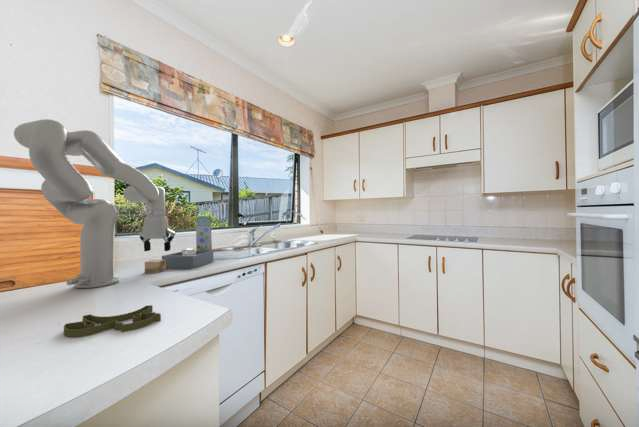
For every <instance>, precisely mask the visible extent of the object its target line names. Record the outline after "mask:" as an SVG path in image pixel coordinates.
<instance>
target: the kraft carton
mask: <svg viewBox="0 0 639 427" xmlns="http://www.w3.org/2000/svg"><path fill="white" fill-rule="evenodd" d="M166 270H167V268H166V260H162V259H151V260H148V261H144V273H145V274H148V273H149V274H158V273H162V272H164V271H166Z"/></svg>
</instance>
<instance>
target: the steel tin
mask: <svg viewBox="0 0 639 427" xmlns="http://www.w3.org/2000/svg"><path fill="white" fill-rule="evenodd" d="M181 251H182V256H194V255H196V248H182V249H181Z"/></svg>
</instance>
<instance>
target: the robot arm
mask: <svg viewBox="0 0 639 427" xmlns="http://www.w3.org/2000/svg"><path fill="white" fill-rule="evenodd" d="M13 137H14V139H15V140H16V142H17V143H18V144H19V145H20V146H23V147H24V148H27V149H28V153H29V154H28V155H29V156H28V157H29V160H30V163H31V165H32V166H33V167H34V169H35V170H36V172H38V173H39V175H40V176H41V177H42V178H43V179H44V180H43V182H42V183H41V188H40V189H41V190H40V191H41V193H42V195H43V197H44V199H45V200H46V201H47V202H49V204H50V205H52V206H53V207H54V208H55V210H57V211H58V212H59V213H60V214H62V215H63V217H65V219H67V220H69V221H70V222H71V223H74V224H77V225H82V229H81V231H80V236H79V237H80V239H79V241H80V242H79V243H80V252H79V253H80V265H79V266H80V269H79V270H80V273H79V274H77V276H76V277H75V278H71V279H67V281H66V286H73V285H74V288H76V289H93V288H99V287H106V286H110V285H113V284H116V283H118V282H119V280H120V279H119V277H115V276H114V275H115V274H114V271H115V270H114V268H115V267H114V266H115V265H114V260H115V258H114V256H115V255H114V252H115V251H114V249H115V248H114V246H115V245H114V244H115V243H114V240H115V239H114V237H115V236H114V234H115V233H114V232H115V231H114V230H115V224H116V220H117V214H118V213H117V212H118V211H117V209H116V206H115V205H114V204H113V203H112V202H110V201H109V200H106V199H101V198H95V199H93V198H91V197H92V195H93V187H92V185H91V183H89V181H88V180H87V179H86V178H85V177H84V176H83V175H82V174H81V173H80V171H78V169H77V168H76V167H75V166H74V165H73V164H72V162H71V161H70V160H69V158H68V157H67V156H72V157H76V156H77V157H80V156H83V157H84V158H85V159H86V160H87V161H88V162H89V163H91V165H92V166H94V168H96V169H97V170H98V172H99V173H101V174H102V175H103V176H106V177H108V178H111V179H114V180H117V181H120V182H122V183H125V184H127V185H129V186H127V187H126V188H125V189H124V190H123V197H124V199H125V200H126V201H128V202H130V203H133V204H134V203H135V204H137V203H138V204H139V203H145V209H146V210H145V211H144V215H146V216H145V217H144V219H143V222H142V223H143V224H142V230H141V231H139V232H138V234H137V235H138V237H139V239H140V240H141V243H143V251H144V252H149V251H151V248H152V247H151V242H150V240H152V239H153V240H155V239H157V240H160V239H163V241H164V243H163V246H164V249H163V250H164V252H168V251H171V242H172V241H173V240H174V238H175V236H176V232H175V231H174V230H172V229H170V225H169V224H170V223H169V219H168V216H166V214H167V212H166V190H165V188H164V187H162V186H156V184H154V182H153V181H152V180H151V179H150V178H149V177H148V176H147V175H146V174H144V173H143V171H141V170H139V169H137V168H135V167H134V166H132V165H130V164H128V163H127V162H125V161H124V160H123V159H121V158H120V157H119V155H118V154H117V153H116V152H115V151H114V150H113V149H112V148H111V147H110V146H109V145H108V144H107V143H106V142H105V140H104V139H103V138H101V136H99V134H97V133H95V132H94V131H91V130H85V129H84V130H76V131H71V132H70V131H67V128H66V127H65V126H64V125H63V124H62V123H60V122H59V121H56V120H54V119H39V120H34V121H30V122H25V123H21V124H19V125H17V126H16V128H14V131H13ZM89 198H91V199H89Z"/></svg>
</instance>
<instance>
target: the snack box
mask: <svg viewBox="0 0 639 427" xmlns="http://www.w3.org/2000/svg"><path fill="white" fill-rule="evenodd" d="M195 245H196V246H195V249H196V251H213V249H212V248H213V247H212V246H213V244H212V215H208V214H207V215H205V214H203V215H195Z"/></svg>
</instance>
